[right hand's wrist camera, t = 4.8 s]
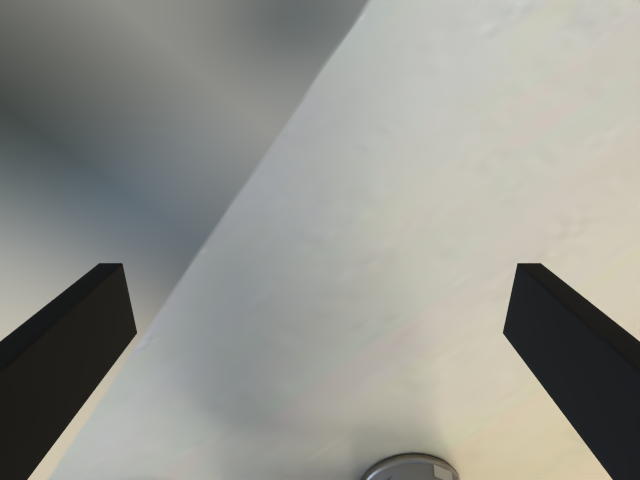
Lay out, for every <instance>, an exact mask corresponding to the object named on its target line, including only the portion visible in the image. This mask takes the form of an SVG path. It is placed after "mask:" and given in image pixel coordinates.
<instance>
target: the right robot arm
mask: <svg viewBox="0 0 640 480" xmlns="http://www.w3.org/2000/svg"><path fill="white" fill-rule="evenodd" d="M136 334H137V330H136V326H135V321H134V316H133V311H132V307H131V302H130V297H129V292H128V288H127V283H126V278H125V273H124V269H123V264H122V263H99V264H98V265H97V266H95V267H94V268H93V269H92V270H90V271H89V272H88V273H86V274H85V275H84V276H83V277H81V278H80V279H79V280H78V281H76V282H75V283H74V284H73V285H71V286H70V287H69V288H67V289H66V290H65V291H64V292H63V293H61V294H60V295H59V296H57V297H56V298H55V299H54V300H52V301H51V302H50V303H49V304H47V305H46V306H45V307H43V308H42V309H41V310H40V311H38V312H37V313H36V314H35V315H33V316H32V317H31V318H30V319H28V320H27V321H26V322H24V323H23V324H22V325H21V326H20V327H18V328H17V329H16V330H14V331H13V332H12V333H11V334H9V335H8V336H7V337H5V338H4V339H3V340H2V341H0V480H27V479H28V478H29V477H30V475H31V474H32V473H33V471H34V470H35V469H36V467H37V466H38V464H39V463H40V462H41V461H42V459H43V458H44V457H45V455H46V454H47V453H48V451H49V450H50V448H51V447H52V446H53V445H54V443H55V442H56V441H57V439H58V438H59V437H60V435H61V434H62V433H63V431H64V430H65V429H66V427H67V426H68V425H69V423H70V422H71V421H72V419H73V418H74V416H75V415H76V414H77V413H78V411H79V410H80V408H81V407H82V406H83V405H84V403H85V402H86V400H87V399H88V398H89V397H90V395H91V394H92V393H93V391H94V390H95V389H96V387H97V386H98V385H99V383H100V382H101V381H102V379H103V378H104V377H105V375H106V374H107V373H108V371H109V370H110V368H111V367H112V366H113V365H114V363H115V362H116V361H117V359H118V358H119V357H120V355H121V354H122V353H123V351H124V350H125V348H126V347H127V346H128V344H129V343H130V342H131V340H132V339H133V338H134V337H135V335H136ZM503 334H504V335H505V337H506V338H507V339H508V341H509V342H510V343H511V345H512V346H513V347H514V349H515V350H516V351H517V353H518V354H519V355H520V357H521V358H522V359H523V361H524V362H525V363H526V365H527V366H528V367H529V369H530V370H531V371H532V373H533V374H534V375H535V377H536V378H537V379H538V381H539V382H540V383H541V385H542V386H543V387H544V389H545V390H546V391H547V393H548V394H549V395H550V397H551V398H552V399H553V401H554V402H555V403H556V405H557V406H558V407H559V409H560V410H561V411H562V413H563V414H564V415H565V417H566V418H567V419H568V421H569V422H570V423H571V425H572V426H573V427H574V429H575V430H576V431H577V433H578V434H579V435H580V437H581V438H582V439H583V441H584V442H585V443H586V445H587V446H588V447H589V449H590V450H591V451H592V453H593V454H594V455H595V457H596V458H597V459H598V461H599V462H600V463H601V465H602V466H603V467H604V469H605V470H606V471H607V473H608V474H609V475H610V477H611V478H612V479H613V480H640V341H638V340H637V339H636V338H635V337H633V336H632V335H631V334H629V333H628V332H627V331H626V330H624V329H623V328H622V327H621V326H619V325H618V324H617V323H616V322H614V321H613V320H612V319H610V318H609V317H608V316H607V315H605V314H604V313H603V312H602V311H600V310H599V309H598V308H597V307H595V306H594V305H593V304H591V303H590V302H589V301H588V300H586V299H585V298H584V297H583V296H581V295H580V294H579V293H578V292H576V291H575V290H574V289H573V288H571V287H570V286H569V285H567V284H566V283H565V282H564V281H562V280H561V279H560V278H559V277H557V276H556V275H555V274H554V273H552V272H551V271H550V270H548V269H547V268H546V267H545V266H543V265H542V264H541V263H518V264H517V269H516V273H515V278H514V283H513V288H512V292H511V297H510V302H509V307H508V311H507V316H506V321H505V325H504V330H503ZM362 480H460V479H459V476H458V474H457V473H456V471H455V470H454V469H453V468H452V467H451V466H450V465H449V464H447V463H446V462H444V461H442V460H440V459H438V458H435V457H432V456H427V455H420V454H407V455H400V456H395V457H392V458H389V459H386V460H384V461H382V462H380V463H378V464H376V465H375V466H374V467H372V468H371V469H370V470H369V471H368V472H367V473H366V474H365V475H364V477H363V478H362Z"/></svg>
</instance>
